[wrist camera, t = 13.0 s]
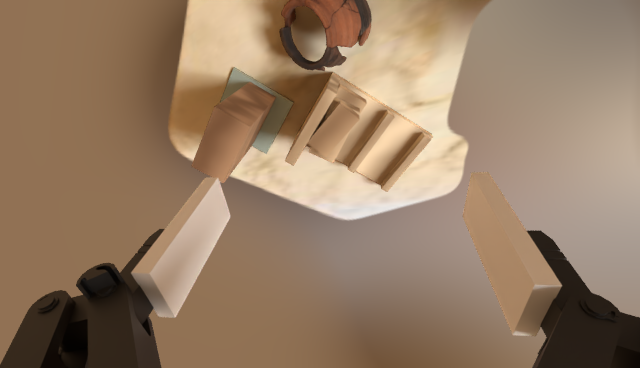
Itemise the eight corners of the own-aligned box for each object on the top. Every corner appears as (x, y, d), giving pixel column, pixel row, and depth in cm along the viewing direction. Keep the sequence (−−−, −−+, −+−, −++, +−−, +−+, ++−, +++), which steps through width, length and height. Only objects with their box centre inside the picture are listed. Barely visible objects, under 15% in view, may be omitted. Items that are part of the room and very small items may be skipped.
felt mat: (293, 102, 43) (293, 103, 42) (267, 152, 47) (266, 153, 47) (234, 67, 41) (233, 67, 41) (212, 122, 45) (211, 123, 45)
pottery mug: (370, 64, 40) (336, 88, 35) (310, 44, 43) (271, 63, 38) (392, -51, 31) (351, -42, 26) (315, -66, 35) (266, -60, 30)
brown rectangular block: (276, 97, 42) (250, 126, 32) (253, 143, 46) (223, 183, 36) (250, 81, 41) (214, 106, 31) (229, 129, 45) (191, 166, 35)
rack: (431, 133, 43) (448, 162, 35) (388, 185, 48) (394, 221, 40) (332, 71, 40) (326, 88, 32) (297, 133, 45) (284, 161, 37)
